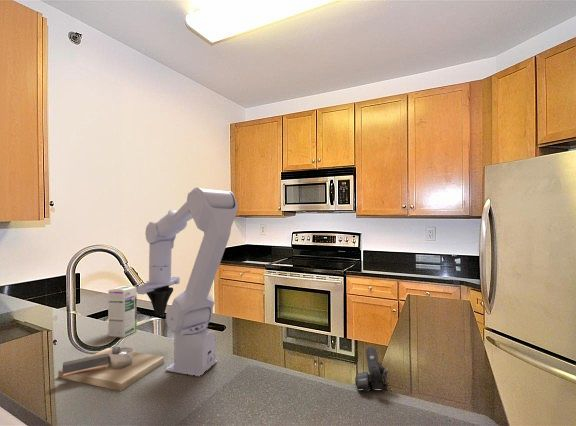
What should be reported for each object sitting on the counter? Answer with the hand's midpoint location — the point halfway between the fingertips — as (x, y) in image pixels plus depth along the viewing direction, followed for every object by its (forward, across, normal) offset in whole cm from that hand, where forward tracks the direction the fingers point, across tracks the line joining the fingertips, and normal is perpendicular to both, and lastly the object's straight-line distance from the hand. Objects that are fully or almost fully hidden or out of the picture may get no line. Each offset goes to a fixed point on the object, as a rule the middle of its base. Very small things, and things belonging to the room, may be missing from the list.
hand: (159, 314), depth 84 cm
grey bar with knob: (+8, +16, -3) cm, 18 cm away
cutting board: (+9, +13, -2) cm, 16 cm away
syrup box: (+10, -6, -19) cm, 22 cm away
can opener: (+10, -3, +57) cm, 58 cm away
